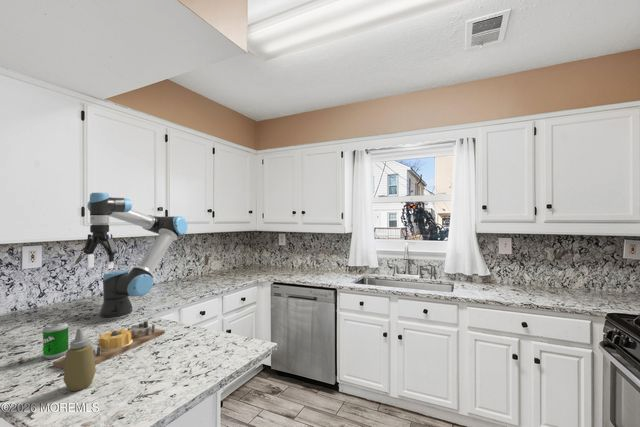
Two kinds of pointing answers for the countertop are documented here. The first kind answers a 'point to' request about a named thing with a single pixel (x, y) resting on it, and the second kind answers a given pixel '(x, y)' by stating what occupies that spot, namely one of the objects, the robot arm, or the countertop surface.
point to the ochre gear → (115, 339)
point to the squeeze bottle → (79, 363)
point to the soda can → (55, 340)
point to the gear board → (139, 336)
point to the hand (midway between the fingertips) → (100, 268)
